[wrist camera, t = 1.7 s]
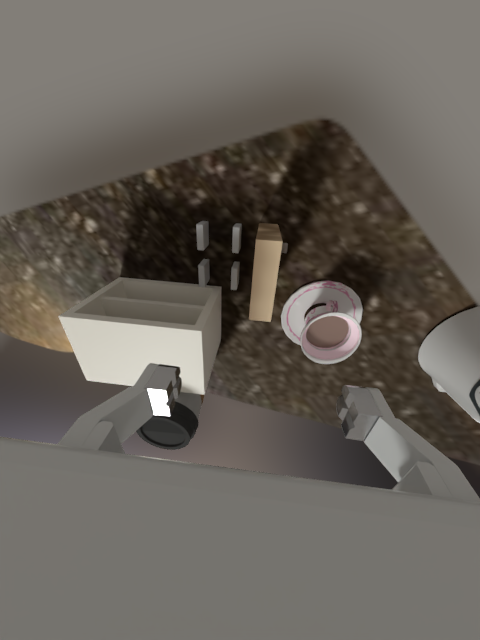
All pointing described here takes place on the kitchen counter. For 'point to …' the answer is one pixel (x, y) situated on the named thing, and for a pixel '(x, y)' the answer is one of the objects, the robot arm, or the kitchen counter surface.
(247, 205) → the kitchen counter surface
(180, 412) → the coffee cup
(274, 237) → the door
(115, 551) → the robot arm
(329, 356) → the teacup
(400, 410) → the kitchen counter surface
